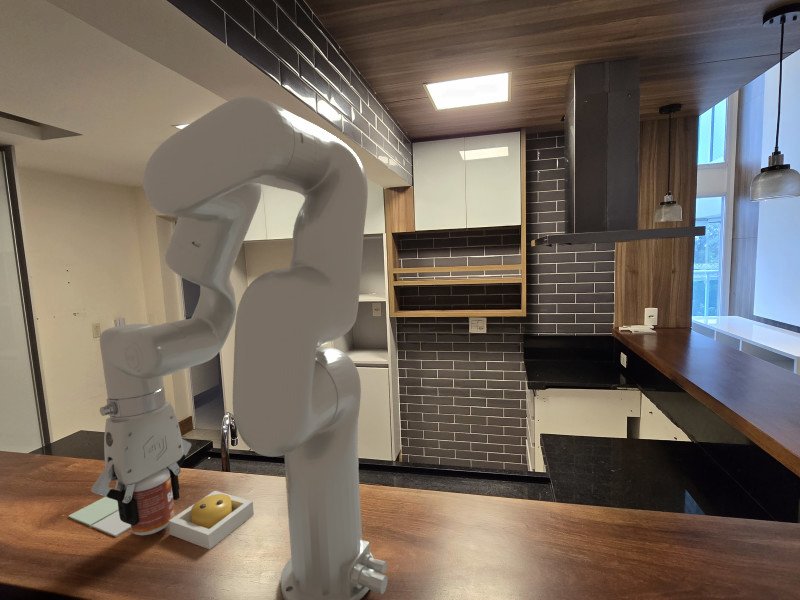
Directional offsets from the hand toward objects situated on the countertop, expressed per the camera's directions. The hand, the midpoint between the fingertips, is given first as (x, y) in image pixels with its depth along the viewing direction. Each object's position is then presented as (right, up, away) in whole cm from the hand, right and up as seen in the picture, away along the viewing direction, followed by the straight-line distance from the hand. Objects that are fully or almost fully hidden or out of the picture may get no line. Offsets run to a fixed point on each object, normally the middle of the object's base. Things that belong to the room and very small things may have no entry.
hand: (152, 508), depth 66 cm
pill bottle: (0, -3, 0) cm, 3 cm away
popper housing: (+9, -3, +2) cm, 10 cm away
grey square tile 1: (-7, -4, +4) cm, 9 cm away
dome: (+9, -3, +2) cm, 10 cm away
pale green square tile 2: (-13, -4, +7) cm, 15 cm away
